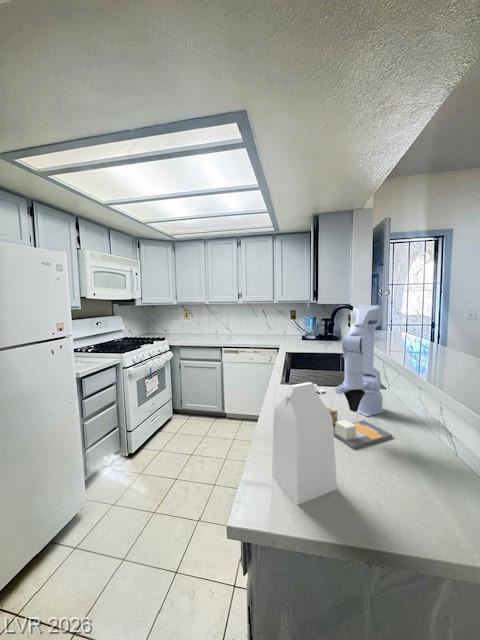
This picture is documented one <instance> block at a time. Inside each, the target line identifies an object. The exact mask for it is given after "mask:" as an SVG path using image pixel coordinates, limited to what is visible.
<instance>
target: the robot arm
mask: <svg viewBox="0 0 480 640" xmlns="http://www.w3.org/2000/svg"><path fill="white" fill-rule="evenodd" d="M352 318H353V320H354V323H353V324H351V326H350V328H349V330H348V332H347V335H346V336H344V337H343V338H342V342H341V348H342V349H341V350H342V356H343V359H344V381H342V384H340V385H337V386H335V387H334V389H335V390H334V391H335V392H334V393H335V394H338V395H342V394H344V396H345V398H346V401H347V403H348V408H349V411H351V412H354V413H359V414H362V415H363V416H365V417H370V416H375V415H379V414H383V413H385V411H384V410H383V395H382V392H381V391H380V390H381V385H382V382H381V381H382V379H381V372H380V371H379V370H378V369H376V368H375V367H374V354H375V353H374V350H375V349H374V347H375V331H376V329H377V327H380V326H381V323H382V306H381V305H380V304H377V305H365V304H364V305H357V304H355V305H354V306H353V308H352Z"/></svg>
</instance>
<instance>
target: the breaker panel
mask: <svg viewBox="0 0 480 640" xmlns="http://www.w3.org/2000/svg"><path fill="white" fill-rule="evenodd" d="M351 423H352V424H354V425H355V426H356V437H355V438H352V439H348V440H345V439H344V438H342V437H341V436H339V435H338V434H336V426H335V427H333V434H334V439H335V438H336V439H337V440H339V441H340V442H342V443H343V444H345V445H346V446H348V447H349V448H350V449H352V450H357V449H359V448H363V447H367V446H369V445H372V444H376V443H380V442H381V441H385V440H389V439H392V438H393V434H392V433H389V432H387V431H386V430H384V429H382V428H379V427H378V426H376V425H375V424H372V423H370V422H368V421H366V420H364V419H363V420H359V421H356V422H351Z"/></svg>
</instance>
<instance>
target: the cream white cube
mask: <svg viewBox="0 0 480 640" xmlns="http://www.w3.org/2000/svg"><path fill="white" fill-rule="evenodd" d="M352 423H353V422H350V421H349V420H346V419H343V420H337V422H336V424H335V427H336V434H338V435H339V436H341V437H342V438H344V439H345V440H348V439H352V438H355V437H356V426H355V425H354V424H352Z"/></svg>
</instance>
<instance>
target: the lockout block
mask: <svg viewBox="0 0 480 640" xmlns="http://www.w3.org/2000/svg"><path fill="white" fill-rule="evenodd" d="M326 407H327V406H326ZM327 409H328V410H329V412H330V414H331V416H332V420H333V425H336V422H337V421H338V410H337V409H335V408H334V407H331V406H328V407H327Z"/></svg>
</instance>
